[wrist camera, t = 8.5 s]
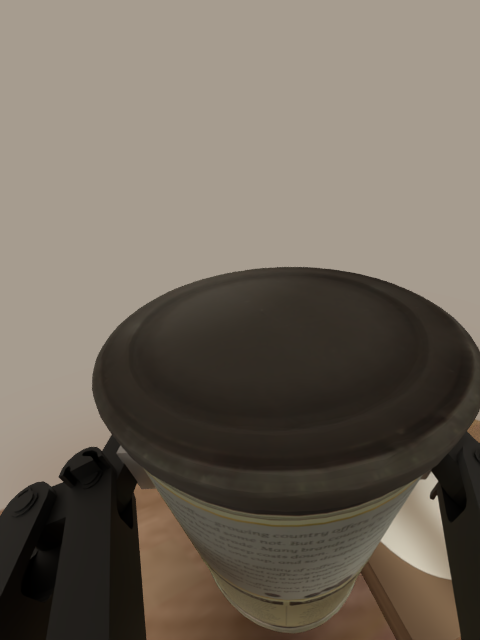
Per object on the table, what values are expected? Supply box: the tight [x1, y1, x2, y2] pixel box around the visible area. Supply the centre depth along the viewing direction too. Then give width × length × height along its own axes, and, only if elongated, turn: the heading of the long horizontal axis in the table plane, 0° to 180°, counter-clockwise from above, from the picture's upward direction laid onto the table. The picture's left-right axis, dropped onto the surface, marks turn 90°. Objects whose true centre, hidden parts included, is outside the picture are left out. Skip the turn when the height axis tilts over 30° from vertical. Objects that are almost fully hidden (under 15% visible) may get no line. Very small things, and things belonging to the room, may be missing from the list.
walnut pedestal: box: [361, 472, 461, 640], centre depth 19 cm, size 13×13×3 cm
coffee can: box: [92, 267, 480, 633], centre depth 10 cm, size 10×10×14 cm
